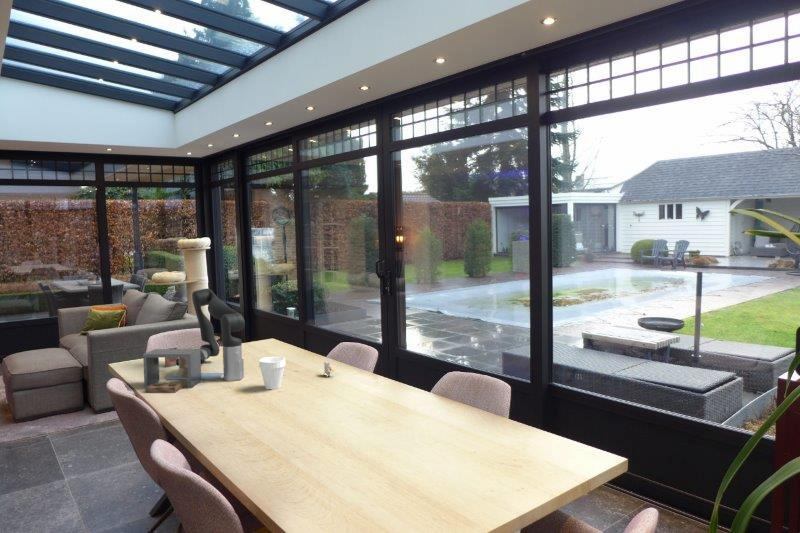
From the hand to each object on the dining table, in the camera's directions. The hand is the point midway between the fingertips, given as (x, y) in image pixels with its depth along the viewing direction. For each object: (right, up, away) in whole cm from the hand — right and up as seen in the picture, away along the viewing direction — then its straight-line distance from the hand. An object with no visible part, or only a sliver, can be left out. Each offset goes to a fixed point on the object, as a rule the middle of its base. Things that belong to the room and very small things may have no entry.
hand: (185, 363), depth 290 cm
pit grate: (-1, -8, -24) cm, 25 cm away
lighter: (-18, -6, +26) cm, 32 cm away
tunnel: (-1, -8, -14) cm, 16 cm away
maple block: (0, -6, 0) cm, 7 cm away
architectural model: (+74, -7, -1) cm, 74 cm away
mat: (+5, -7, +1) cm, 9 cm away
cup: (+50, -8, -21) cm, 55 cm away
